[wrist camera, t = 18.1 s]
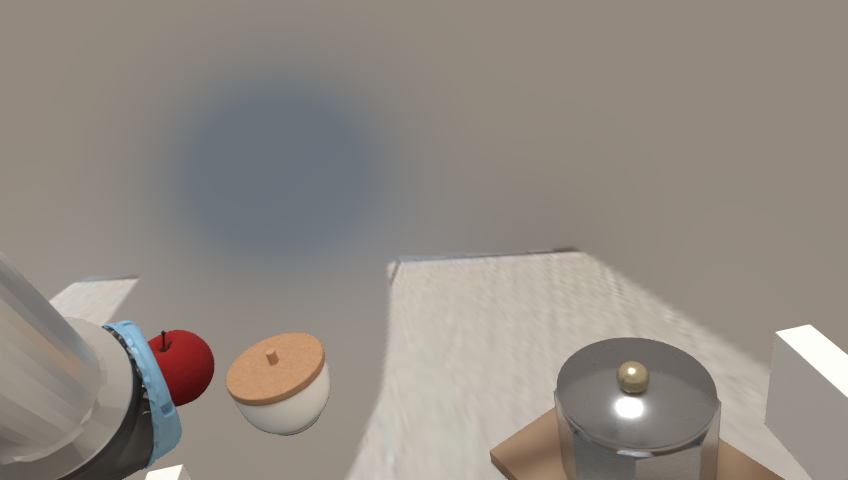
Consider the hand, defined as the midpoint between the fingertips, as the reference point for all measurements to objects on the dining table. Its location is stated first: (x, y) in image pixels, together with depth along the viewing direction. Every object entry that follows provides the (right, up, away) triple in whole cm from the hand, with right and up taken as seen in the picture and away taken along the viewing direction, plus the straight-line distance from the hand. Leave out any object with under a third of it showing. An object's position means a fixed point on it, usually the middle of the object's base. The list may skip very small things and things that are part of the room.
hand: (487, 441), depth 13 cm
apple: (-32, -15, +59) cm, 69 cm away
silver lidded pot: (+17, -15, +35) cm, 42 cm away
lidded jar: (-16, -16, +52) cm, 56 cm away
